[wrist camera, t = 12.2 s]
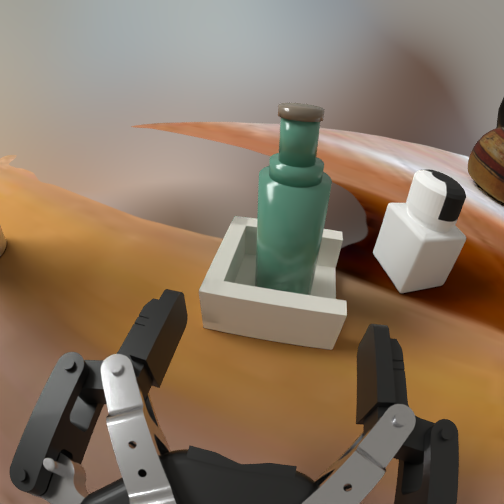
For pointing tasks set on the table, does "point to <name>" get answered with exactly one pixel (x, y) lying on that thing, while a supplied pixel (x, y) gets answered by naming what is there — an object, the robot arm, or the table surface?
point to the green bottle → (292, 204)
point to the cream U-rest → (271, 294)
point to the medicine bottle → (422, 233)
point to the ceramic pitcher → (490, 160)
